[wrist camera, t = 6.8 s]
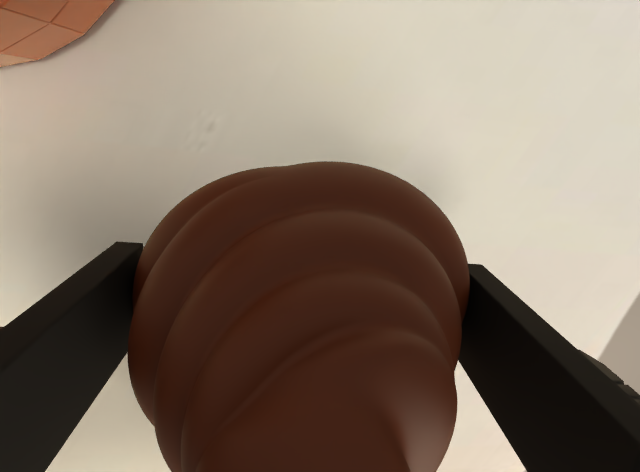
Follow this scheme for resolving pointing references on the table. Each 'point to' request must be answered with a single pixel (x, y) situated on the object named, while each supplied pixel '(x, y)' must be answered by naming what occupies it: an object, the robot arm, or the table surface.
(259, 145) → the table surface
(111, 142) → the table surface
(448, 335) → the poop emoji
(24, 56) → the bowl
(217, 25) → the table surface
